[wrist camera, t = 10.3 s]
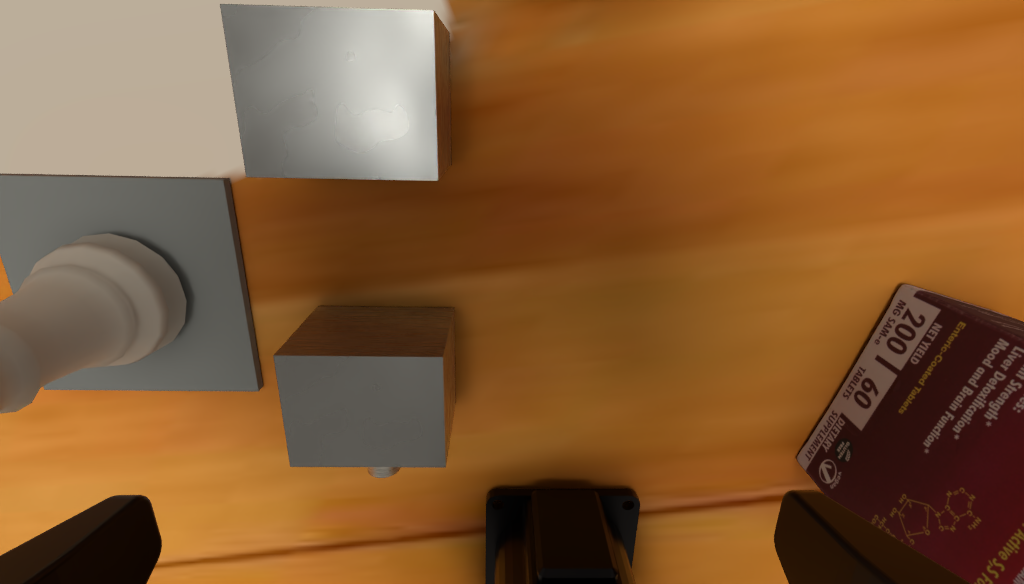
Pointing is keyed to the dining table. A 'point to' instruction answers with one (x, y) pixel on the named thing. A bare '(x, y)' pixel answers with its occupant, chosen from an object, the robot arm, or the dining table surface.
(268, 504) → the dining table surface
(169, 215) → the mat
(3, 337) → the rook chess piece
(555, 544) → the robot arm
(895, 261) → the dining table surface
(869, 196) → the dining table surface
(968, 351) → the supplement box
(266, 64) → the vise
